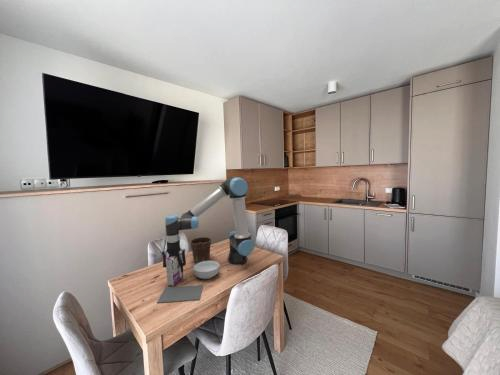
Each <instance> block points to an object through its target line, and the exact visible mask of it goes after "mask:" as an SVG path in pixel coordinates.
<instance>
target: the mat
mask: <svg viewBox="0 0 500 375" xmlns="http://www.w3.org/2000/svg"><path fill="white" fill-rule="evenodd" d="M203 286H204V285H203V284H197V285H184V286H183V285H182V286H168V287H167V286H165V287H164V289H163V290H162V292H161V294H160V296H159V298H158V299H157V301H156V304H168V303H179V302H180V303H182V302H193V301H194V302H195V301H196V300H197V301H200V300H201V296H202V291H203Z"/></svg>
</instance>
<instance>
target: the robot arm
mask: <svg viewBox="0 0 500 375" xmlns="http://www.w3.org/2000/svg"><path fill="white" fill-rule="evenodd" d="M248 187H249V186H248V183H247V181H246V180H245V179H244V178H242V177H234V176H233V177H229V178H227V179H226V180H225V181H223V182H222V183H221V184H219V186H218V187H217V188H216V189H215V190H214V191H212V192H211V193H210V194H209V195H207V196H206V197H205V198H204V199H202V200H201V201H199V202H198V203H196V205H194V206H193V207H192V208H190V209H189V210H188V211H186V212H184V213H182V214H181V216H180V217H179V216H178V215H177V214H176V215H175V214H173V215H168V216H165V219H164V221H165V222H164V224H165V237H166V249H165V250H162V252H161V254H162V268H166V259H167V254H168V257H171V256H177V259H178V262H179V264H180V267H179V273H180V278H181V277H182V272H183V273H184V267H185V266H186V264H187V260H186V249H185V248H184V249H183V248H181V244H180V243H181V241H180V231H187V230H194V229H198V228H199V227H200V226H199V225H200V224H199V217H200V216H202V215H203V214H204V213H205V212H206V211H207V212H208V210H210V209H211V208H212V207H213V206H215V205H216V204H217V203H218V202H220V201H222V199H223V198H225V197H226V198H227V197H229V199H230V200H231V201H232V210H233V217H234V220H233V221H234V227H235V230H232V231H230V232H229V234H228V237H229V242H228V243H229V252H228V256H227V263H228V264H230V265H235V266H237V265H243V264H245V263H247V262H248V256H249V255H251V254H252V253H253V252H254V250H255V244H254V242H253V240H252V236H251V233H250V232H249V229H248V227H249V226H248V219H247V208H246V202H245V201H246V200H245V199H246V198H247V191H248V189H249V188H248ZM179 252H181V253H182V260H181V258H180V255H179ZM182 261H183V263H182ZM182 278H183V277H182ZM182 278H181V279H182Z"/></svg>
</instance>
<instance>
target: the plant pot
mask: <svg viewBox="0 0 500 375" xmlns="http://www.w3.org/2000/svg"><path fill="white" fill-rule="evenodd" d="M211 242H212V238H211V237H207V236H206V237H205V236H203V237H202V236H201V237H195V238H193V239H191V240H190V241H189V243H190V247H191V250H192V258H193V263H195V264H197V263H200V262H203V261H211V259H210V257H211V256H210V255H211Z"/></svg>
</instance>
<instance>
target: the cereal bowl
mask: <svg viewBox="0 0 500 375" xmlns="http://www.w3.org/2000/svg"><path fill="white" fill-rule="evenodd" d="M219 271H220V263H219V262H218V261H216V260H209V261H203V262H200V263H195V264H194V265H193V274H194V276H196V277H197V278H199V279H203V280H209V279H211V278H213V277H215V276H217V274H218V273H219Z"/></svg>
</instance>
